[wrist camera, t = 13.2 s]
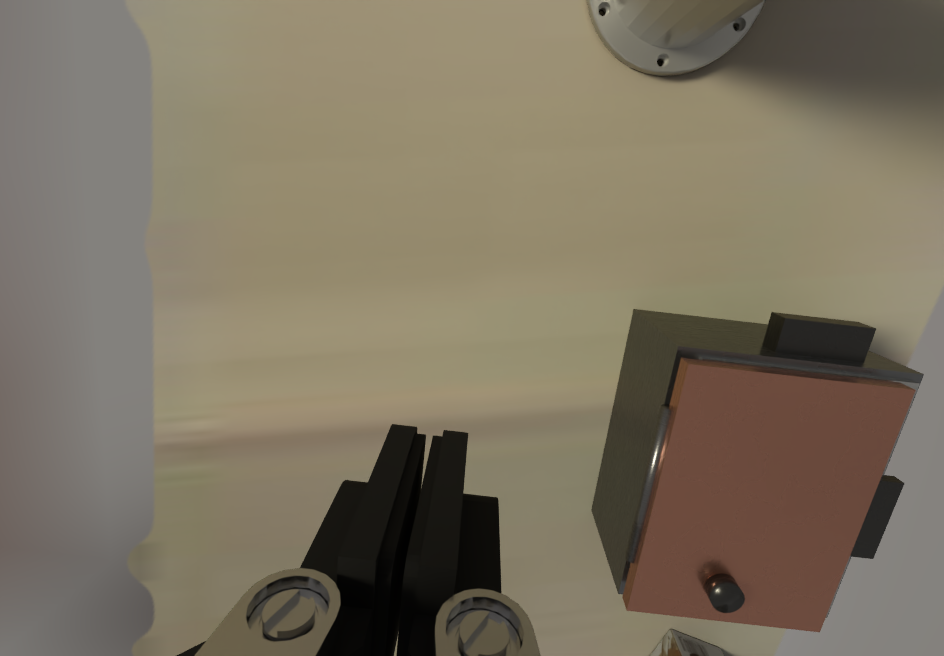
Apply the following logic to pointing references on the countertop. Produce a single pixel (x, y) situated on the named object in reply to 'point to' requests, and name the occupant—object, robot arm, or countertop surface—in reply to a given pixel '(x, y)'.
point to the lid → (762, 493)
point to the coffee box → (684, 646)
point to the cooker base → (682, 336)
